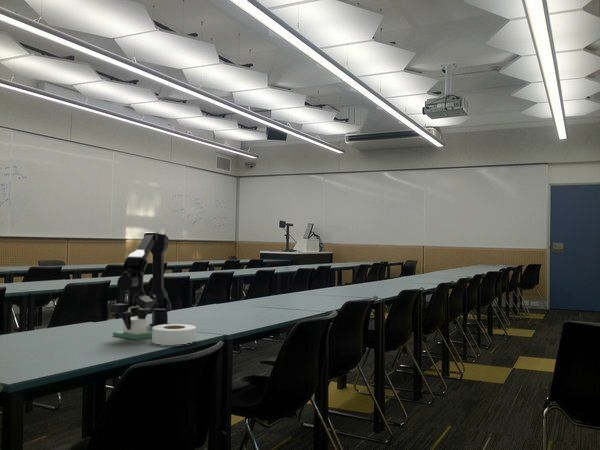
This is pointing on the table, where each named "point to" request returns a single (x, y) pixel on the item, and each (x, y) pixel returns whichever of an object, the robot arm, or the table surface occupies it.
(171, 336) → the roll of tape
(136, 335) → the header board
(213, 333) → the table surface
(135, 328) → the block
